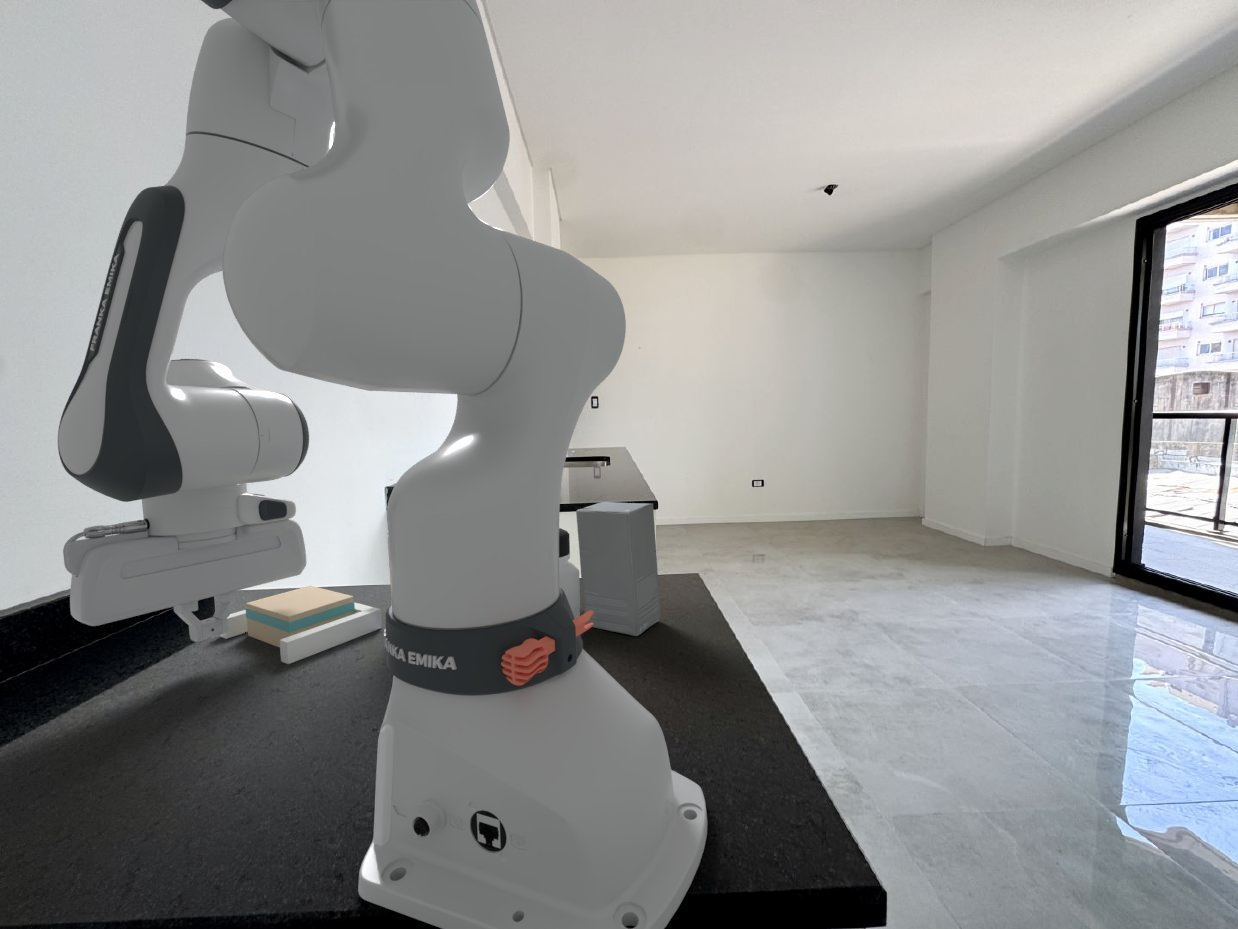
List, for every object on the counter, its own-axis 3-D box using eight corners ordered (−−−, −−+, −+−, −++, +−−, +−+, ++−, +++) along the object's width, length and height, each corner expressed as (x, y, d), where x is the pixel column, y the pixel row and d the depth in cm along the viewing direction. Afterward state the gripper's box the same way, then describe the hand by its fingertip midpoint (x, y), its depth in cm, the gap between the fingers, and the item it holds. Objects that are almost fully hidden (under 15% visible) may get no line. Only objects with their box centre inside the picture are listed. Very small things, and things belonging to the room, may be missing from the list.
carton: (355, 629, 67) (353, 596, 67) (290, 654, 60) (288, 617, 60) (312, 616, 72) (310, 585, 72) (247, 637, 65) (245, 603, 65)
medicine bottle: (569, 604, 74) (566, 523, 73) (581, 622, 67) (578, 532, 67) (519, 610, 72) (516, 527, 71) (526, 629, 65) (523, 537, 64)
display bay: (381, 627, 67) (380, 609, 66) (288, 664, 57) (286, 642, 56) (312, 607, 75) (311, 591, 74) (220, 636, 65) (218, 617, 64)
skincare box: (661, 621, 67) (660, 502, 66) (633, 641, 61) (631, 510, 60) (608, 610, 72) (605, 498, 70) (577, 627, 66) (574, 505, 64)
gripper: (72, 532, 45) (88, 684, 46) (309, 501, 63) (317, 611, 64) (50, 528, 48) (65, 670, 49) (281, 499, 66) (289, 604, 67)
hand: (209, 636), depth 56 cm, fingers closed
